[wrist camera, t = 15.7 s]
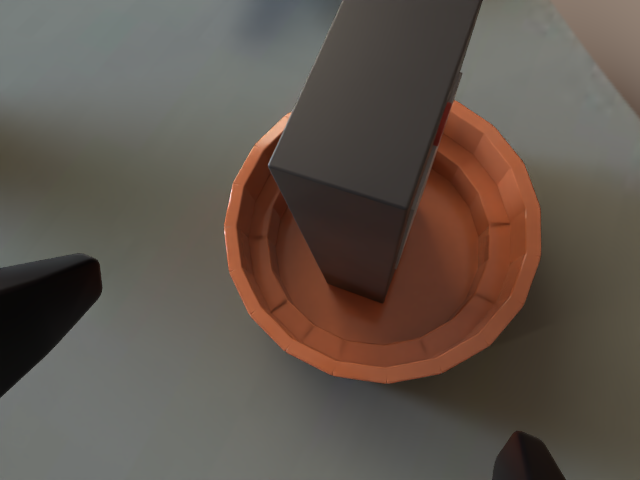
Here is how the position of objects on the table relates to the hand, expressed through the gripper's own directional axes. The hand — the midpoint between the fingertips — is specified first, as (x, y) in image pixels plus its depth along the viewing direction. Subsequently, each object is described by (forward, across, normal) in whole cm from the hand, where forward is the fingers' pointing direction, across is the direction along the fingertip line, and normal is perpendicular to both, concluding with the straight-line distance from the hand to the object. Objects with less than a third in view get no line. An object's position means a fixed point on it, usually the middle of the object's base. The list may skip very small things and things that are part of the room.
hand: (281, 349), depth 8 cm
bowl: (+13, 0, +5) cm, 14 cm away
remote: (+13, 0, +4) cm, 13 cm away
